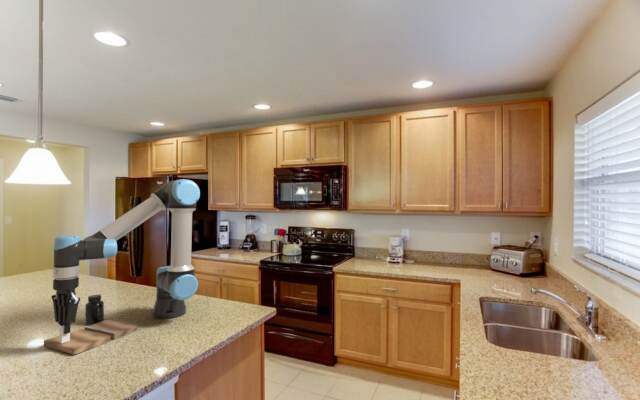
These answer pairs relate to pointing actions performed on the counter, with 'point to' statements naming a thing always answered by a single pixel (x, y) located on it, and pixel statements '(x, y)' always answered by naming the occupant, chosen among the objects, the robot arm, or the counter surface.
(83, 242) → the robot arm
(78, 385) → the counter surface
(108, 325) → the walnut board
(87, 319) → the supplement bottle
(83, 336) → the oak plank
